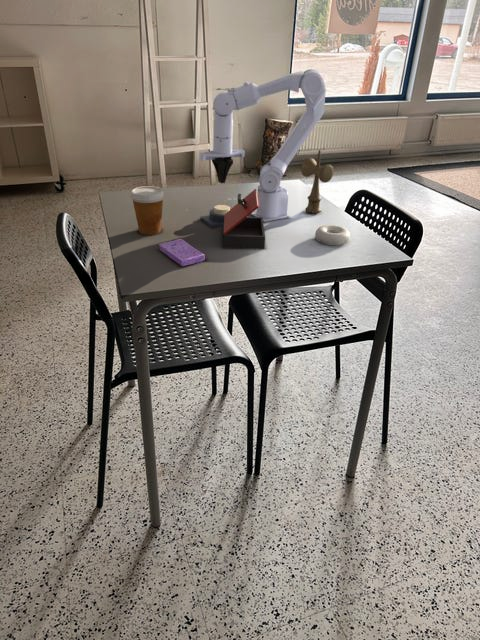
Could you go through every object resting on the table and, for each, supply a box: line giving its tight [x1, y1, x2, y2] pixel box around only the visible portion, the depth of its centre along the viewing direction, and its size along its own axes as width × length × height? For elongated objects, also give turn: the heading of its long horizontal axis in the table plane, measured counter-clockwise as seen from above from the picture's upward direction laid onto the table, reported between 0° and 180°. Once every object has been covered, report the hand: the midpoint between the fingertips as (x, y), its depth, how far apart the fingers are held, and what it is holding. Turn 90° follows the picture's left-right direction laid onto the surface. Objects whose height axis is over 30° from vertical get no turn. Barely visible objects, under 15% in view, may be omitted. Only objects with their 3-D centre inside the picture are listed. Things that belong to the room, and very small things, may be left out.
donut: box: [314, 224, 351, 246], centre depth 143 cm, size 10×4×10 cm
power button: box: [213, 204, 231, 215], centre depth 153 cm, size 5×5×2 cm
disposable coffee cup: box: [130, 185, 165, 236], centre depth 143 cm, size 10×10×12 cm
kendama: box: [300, 149, 334, 214], centre depth 159 cm, size 6×10×20 cm, turn 35°
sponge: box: [158, 238, 206, 267], centre depth 131 cm, size 7×13×2 cm, turn 35°
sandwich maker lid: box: [223, 188, 259, 236], centre depth 138 cm, size 12×15×4 cm
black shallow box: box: [223, 216, 266, 250], centre depth 142 cm, size 11×15×4 cm
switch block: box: [200, 208, 232, 228], centre depth 154 cm, size 11×8×3 cm
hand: (221, 182), depth 154 cm, fingers closed
